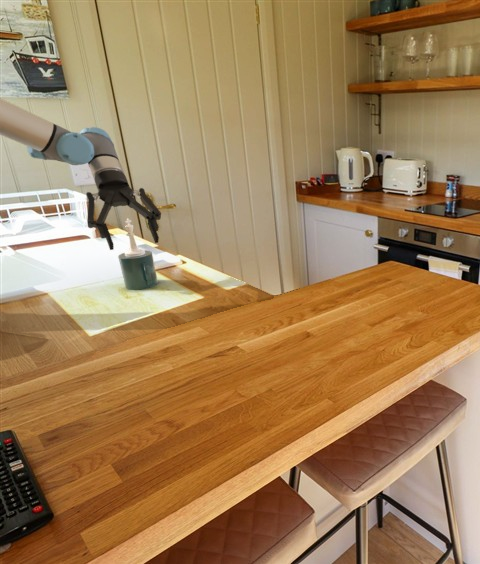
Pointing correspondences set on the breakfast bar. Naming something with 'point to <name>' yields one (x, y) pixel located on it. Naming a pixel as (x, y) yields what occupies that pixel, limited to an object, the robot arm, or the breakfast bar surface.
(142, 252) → the chess piece
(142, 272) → the cup
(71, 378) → the breakfast bar surface
